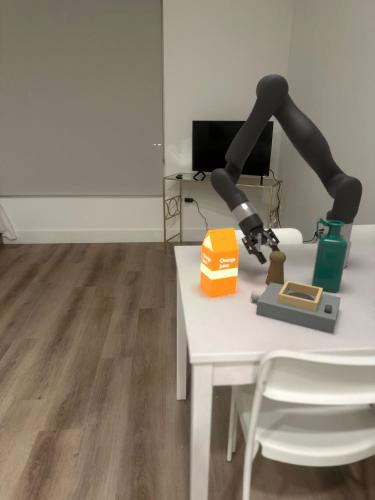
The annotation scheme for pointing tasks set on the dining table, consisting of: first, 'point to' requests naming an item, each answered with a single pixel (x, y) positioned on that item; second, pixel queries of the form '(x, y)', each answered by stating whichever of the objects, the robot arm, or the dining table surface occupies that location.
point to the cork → (276, 268)
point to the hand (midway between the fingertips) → (272, 260)
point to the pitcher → (329, 257)
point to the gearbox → (298, 305)
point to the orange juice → (219, 263)
